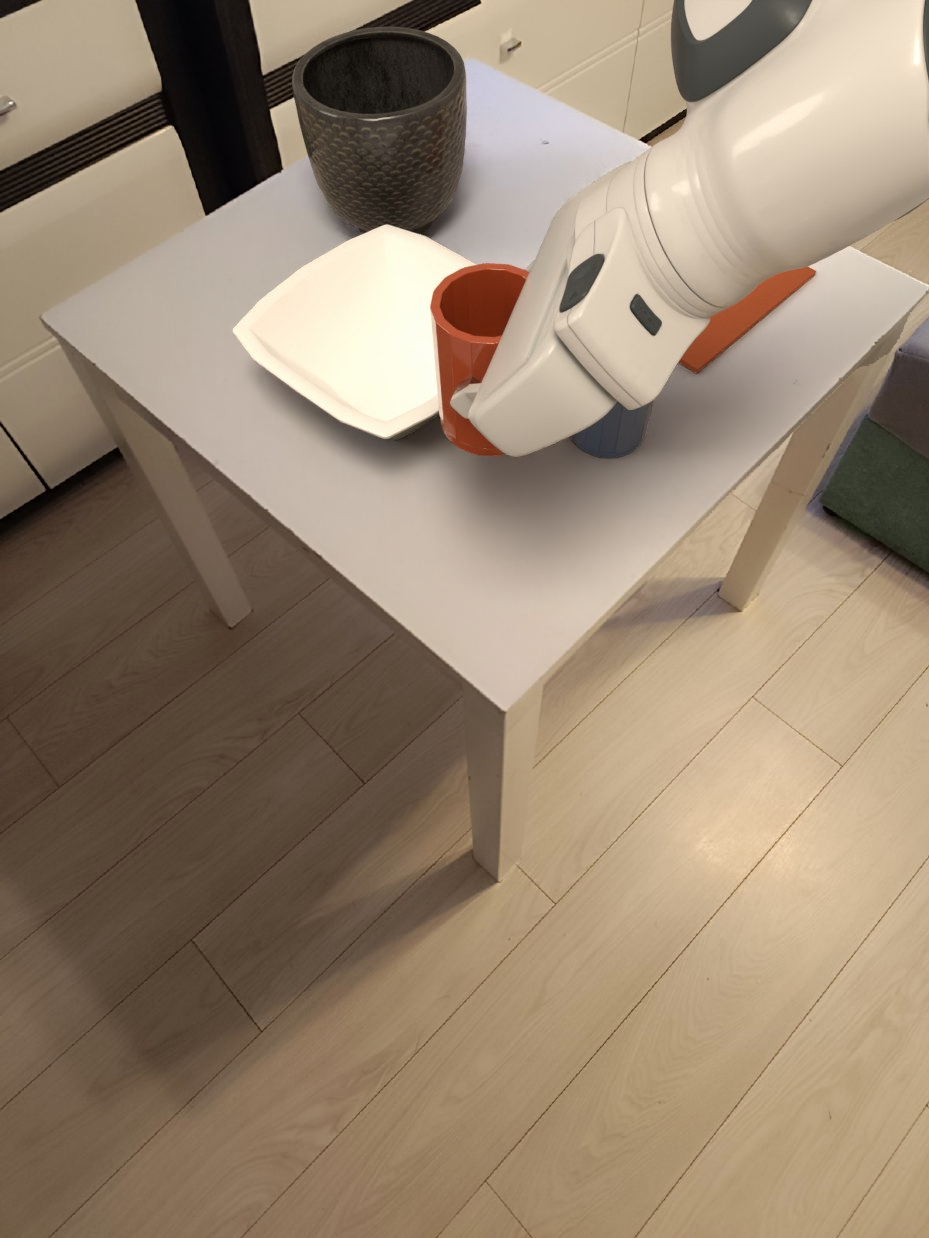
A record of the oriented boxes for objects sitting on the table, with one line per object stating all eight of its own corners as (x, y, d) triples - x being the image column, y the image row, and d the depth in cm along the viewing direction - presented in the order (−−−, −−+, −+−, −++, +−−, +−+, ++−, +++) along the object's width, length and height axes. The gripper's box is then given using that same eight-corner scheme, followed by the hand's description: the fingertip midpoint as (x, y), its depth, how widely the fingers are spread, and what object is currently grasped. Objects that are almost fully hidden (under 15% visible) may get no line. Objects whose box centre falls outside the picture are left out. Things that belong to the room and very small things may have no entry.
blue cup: (646, 403, 82) (663, 319, 74) (645, 461, 79) (663, 379, 70) (570, 399, 83) (579, 315, 74) (566, 456, 79) (575, 374, 71)
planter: (397, 155, 104) (382, 8, 90) (501, 214, 98) (502, 65, 84) (288, 222, 98) (254, 75, 84) (391, 289, 92) (373, 142, 78)
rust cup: (546, 384, 62) (553, 266, 54) (537, 460, 59) (544, 346, 50) (447, 378, 63) (439, 260, 54) (433, 452, 59) (422, 339, 51)
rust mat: (814, 275, 91) (816, 270, 90) (696, 374, 84) (698, 369, 83) (665, 196, 98) (666, 191, 98) (546, 281, 92) (546, 276, 91)
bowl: (399, 518, 76) (388, 455, 69) (234, 396, 84) (209, 327, 77) (557, 382, 84) (562, 312, 77) (392, 282, 92) (383, 210, 85)
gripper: (657, 99, 49) (495, 224, 60) (566, 338, 40) (391, 438, 50) (717, 184, 52) (553, 289, 63) (647, 426, 43) (466, 503, 53)
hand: (481, 357), depth 56 cm, fingers closed on rust cup, 7 cm apart
